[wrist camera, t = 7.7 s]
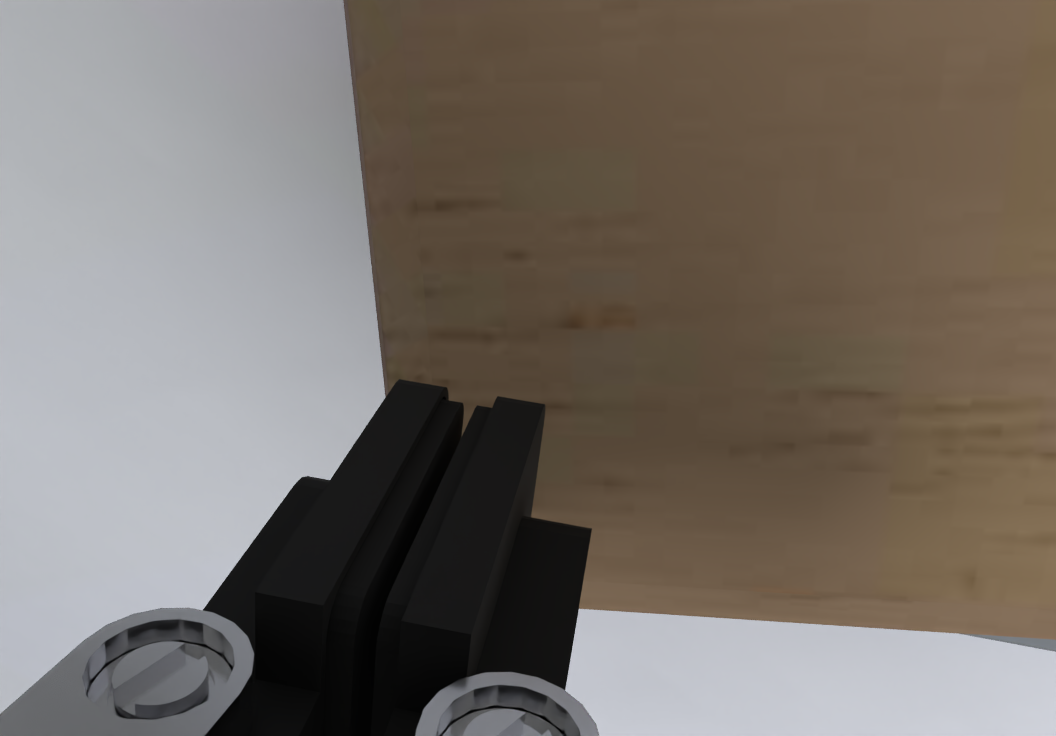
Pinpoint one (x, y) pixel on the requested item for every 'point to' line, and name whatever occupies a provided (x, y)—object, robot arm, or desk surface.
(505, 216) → the block
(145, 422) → the desk surface
